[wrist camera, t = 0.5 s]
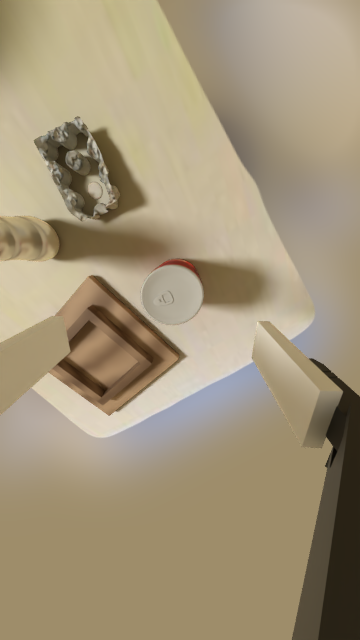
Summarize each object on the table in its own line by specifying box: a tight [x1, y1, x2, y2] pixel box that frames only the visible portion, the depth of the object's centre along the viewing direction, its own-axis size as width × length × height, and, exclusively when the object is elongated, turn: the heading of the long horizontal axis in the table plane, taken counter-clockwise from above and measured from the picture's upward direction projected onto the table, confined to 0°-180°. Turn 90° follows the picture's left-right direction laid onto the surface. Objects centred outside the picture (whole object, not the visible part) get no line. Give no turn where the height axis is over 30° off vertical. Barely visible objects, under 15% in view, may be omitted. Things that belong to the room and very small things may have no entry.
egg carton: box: [34, 117, 120, 221], centre depth 28 cm, size 11×8×4 cm
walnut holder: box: [49, 275, 179, 416], centre depth 39 cm, size 22×22×4 cm
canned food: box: [141, 259, 204, 325], centre depth 29 cm, size 8×8×11 cm
